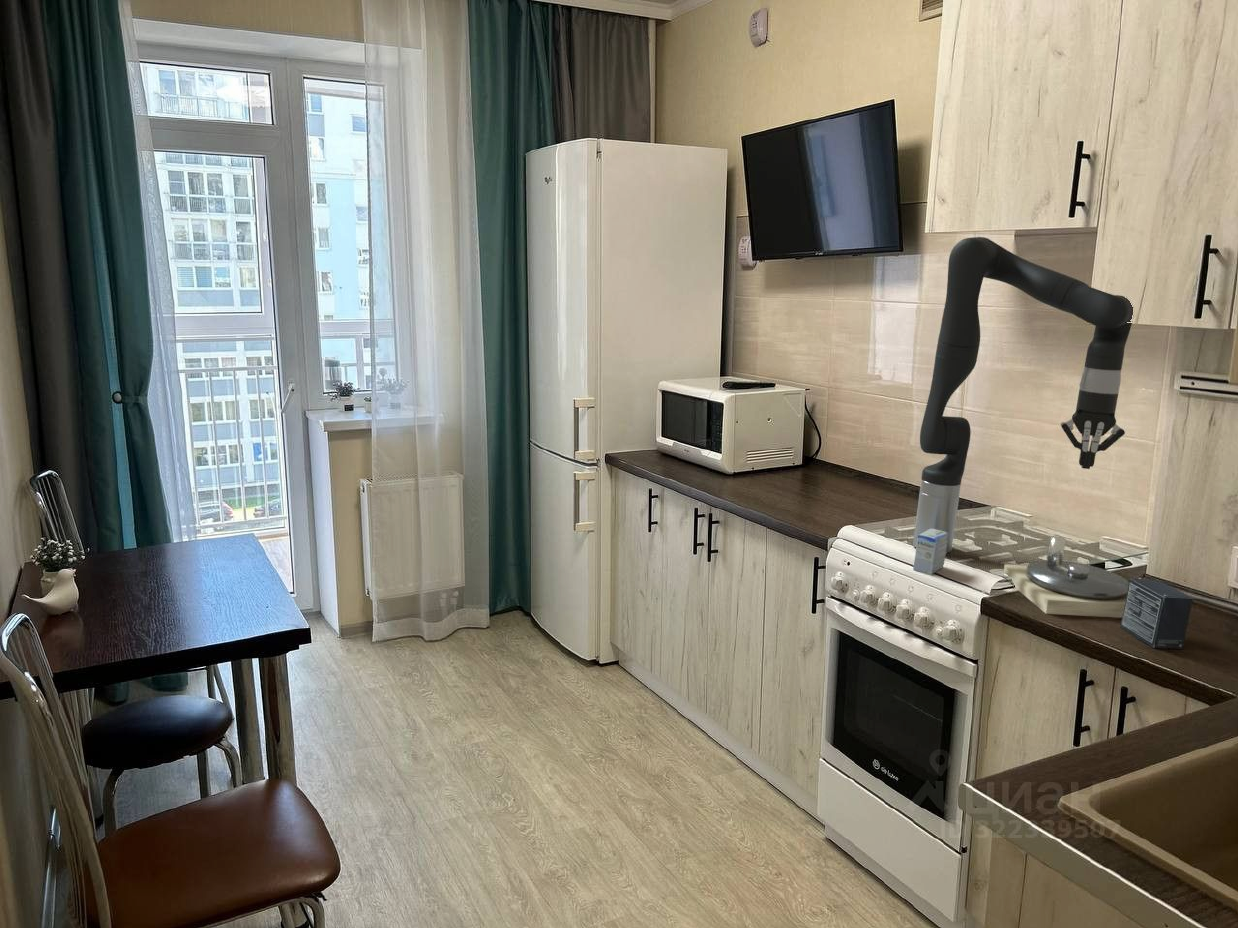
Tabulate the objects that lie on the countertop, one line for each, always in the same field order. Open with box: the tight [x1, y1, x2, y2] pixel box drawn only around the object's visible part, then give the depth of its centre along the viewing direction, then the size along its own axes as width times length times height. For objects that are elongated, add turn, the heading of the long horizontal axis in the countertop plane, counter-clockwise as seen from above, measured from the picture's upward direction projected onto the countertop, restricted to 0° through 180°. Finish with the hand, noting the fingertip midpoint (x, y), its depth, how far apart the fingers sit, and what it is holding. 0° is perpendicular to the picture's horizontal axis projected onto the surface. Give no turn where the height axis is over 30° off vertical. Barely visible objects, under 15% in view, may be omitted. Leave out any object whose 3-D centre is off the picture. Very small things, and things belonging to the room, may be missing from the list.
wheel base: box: [1003, 564, 1127, 619], centre depth 196 cm, size 22×22×3 cm
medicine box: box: [913, 529, 949, 575], centre depth 209 cm, size 8×4×9 cm, turn 141°
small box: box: [1119, 577, 1194, 650], centre depth 175 cm, size 11×6×10 cm, turn 5°
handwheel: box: [1026, 535, 1129, 599], centre depth 195 cm, size 20×20×8 cm
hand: (1085, 468), depth 198 cm, fingers closed
